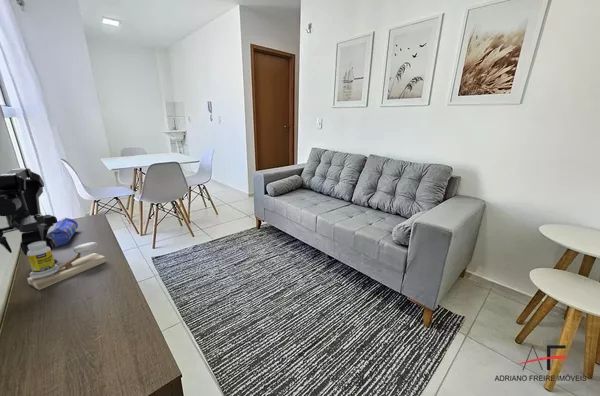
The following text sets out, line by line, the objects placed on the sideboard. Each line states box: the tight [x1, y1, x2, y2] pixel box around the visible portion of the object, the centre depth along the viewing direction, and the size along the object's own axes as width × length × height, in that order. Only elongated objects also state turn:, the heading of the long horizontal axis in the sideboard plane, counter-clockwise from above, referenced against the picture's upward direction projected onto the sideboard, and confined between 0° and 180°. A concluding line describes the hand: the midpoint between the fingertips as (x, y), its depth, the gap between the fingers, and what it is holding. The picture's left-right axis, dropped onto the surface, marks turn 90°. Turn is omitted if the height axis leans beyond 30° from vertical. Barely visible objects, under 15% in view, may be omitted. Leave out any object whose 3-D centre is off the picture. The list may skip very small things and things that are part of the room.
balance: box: [27, 241, 107, 291], centre depth 101 cm, size 8×22×8 cm, turn 155°
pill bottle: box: [26, 241, 56, 274], centre depth 93 cm, size 6×6×11 cm
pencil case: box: [47, 217, 79, 248], centre depth 130 cm, size 22×9×10 cm, turn 32°
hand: (28, 247), depth 95 cm, fingers open, 9 cm apart
